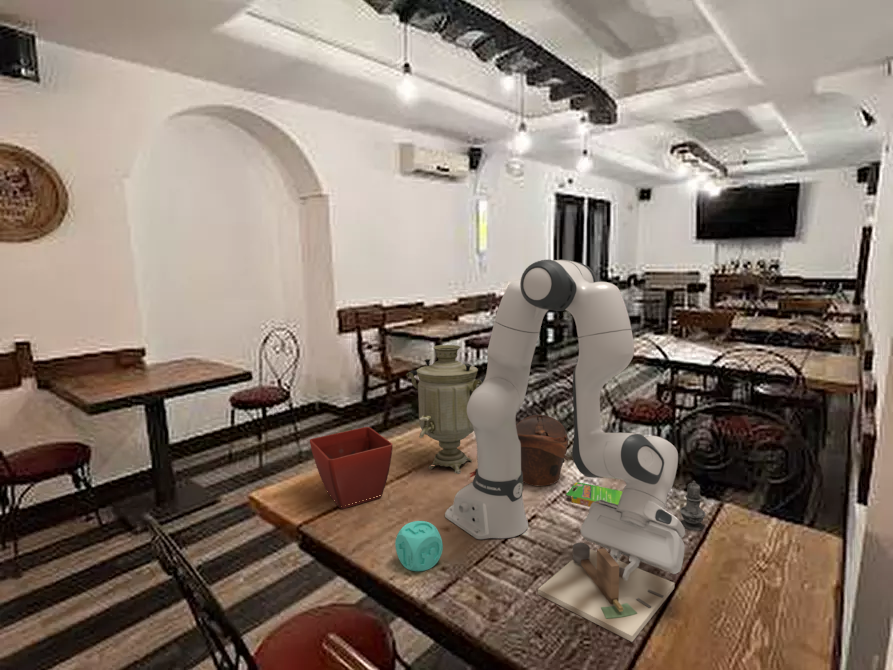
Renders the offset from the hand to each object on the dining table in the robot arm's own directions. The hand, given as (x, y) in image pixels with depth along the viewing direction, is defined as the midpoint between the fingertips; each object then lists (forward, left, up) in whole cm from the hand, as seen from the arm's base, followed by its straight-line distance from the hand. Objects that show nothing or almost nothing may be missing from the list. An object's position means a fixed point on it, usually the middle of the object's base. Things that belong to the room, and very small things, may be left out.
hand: (618, 577), depth 103 cm
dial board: (-3, +1, -5) cm, 6 cm away
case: (-44, +38, -5) cm, 59 cm away
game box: (-21, +37, -6) cm, 43 cm away
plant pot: (-79, -7, -6) cm, 80 cm away
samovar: (-73, +25, -5) cm, 78 cm away
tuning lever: (-5, +1, -3) cm, 6 cm away
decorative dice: (-40, -17, -6) cm, 44 cm away
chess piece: (+1, +39, -5) cm, 40 cm away
